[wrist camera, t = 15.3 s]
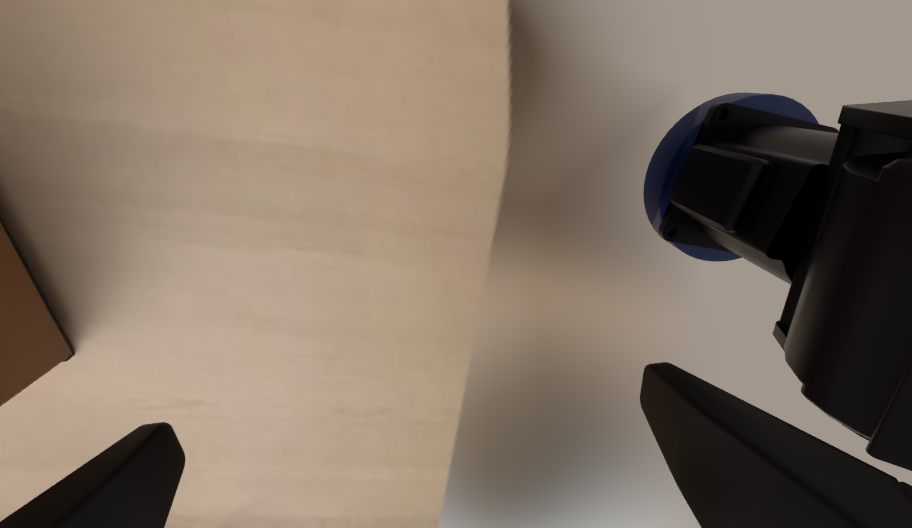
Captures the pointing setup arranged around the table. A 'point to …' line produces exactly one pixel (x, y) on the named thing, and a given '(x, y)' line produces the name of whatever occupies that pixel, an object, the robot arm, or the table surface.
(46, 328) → the box
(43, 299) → the strip
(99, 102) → the table surface
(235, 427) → the table surface
